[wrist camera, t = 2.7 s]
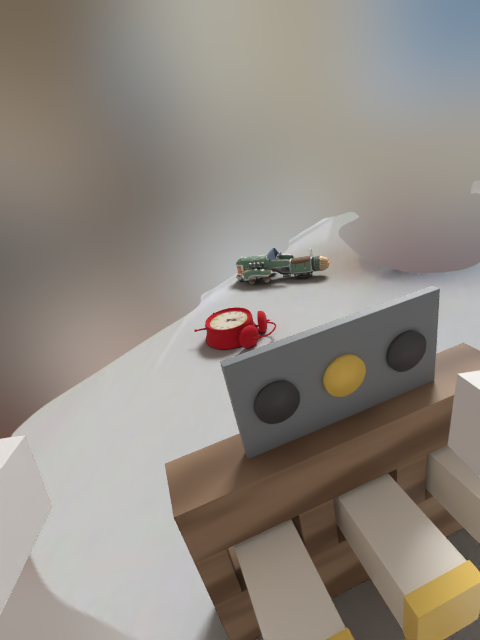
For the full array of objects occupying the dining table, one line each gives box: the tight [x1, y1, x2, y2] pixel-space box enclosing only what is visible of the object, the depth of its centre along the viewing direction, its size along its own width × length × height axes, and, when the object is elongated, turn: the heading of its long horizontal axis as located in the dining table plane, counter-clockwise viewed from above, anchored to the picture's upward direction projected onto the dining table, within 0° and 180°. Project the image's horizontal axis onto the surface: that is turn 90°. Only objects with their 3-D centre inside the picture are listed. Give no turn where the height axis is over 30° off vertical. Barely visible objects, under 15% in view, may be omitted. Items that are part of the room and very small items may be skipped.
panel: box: [165, 343, 480, 640], centre depth 27 cm, size 4×24×16 cm, turn 108°
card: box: [220, 286, 440, 459], centre depth 22 cm, size 1×14×7 cm, turn 108°
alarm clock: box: [195, 308, 276, 349], centre depth 68 cm, size 10×6×15 cm
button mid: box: [333, 473, 480, 640], centre depth 22 cm, size 9×4×4 cm, turn 18°
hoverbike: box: [236, 248, 331, 284], centre depth 90 cm, size 10×25×8 cm, turn 70°
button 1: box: [234, 519, 354, 640], centre depth 21 cm, size 9×4×4 cm, turn 18°
